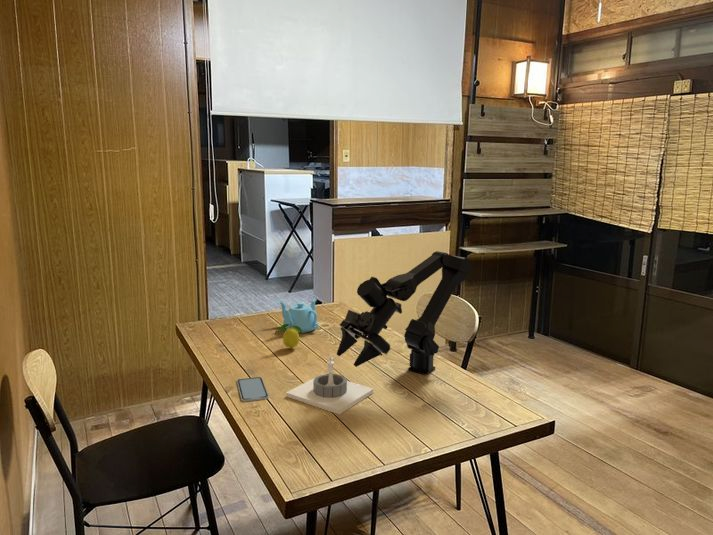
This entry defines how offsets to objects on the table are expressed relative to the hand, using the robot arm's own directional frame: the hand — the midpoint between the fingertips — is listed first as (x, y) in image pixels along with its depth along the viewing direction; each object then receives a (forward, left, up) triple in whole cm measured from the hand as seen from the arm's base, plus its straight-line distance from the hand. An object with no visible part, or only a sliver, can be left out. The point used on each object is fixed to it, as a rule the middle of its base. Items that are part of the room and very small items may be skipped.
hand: (346, 360), depth 148 cm
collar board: (+2, +5, -9) cm, 10 cm away
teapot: (+48, -35, -9) cm, 60 cm away
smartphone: (+22, +15, -10) cm, 28 cm away
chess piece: (+2, +4, -8) cm, 9 cm away
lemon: (+35, -16, -9) cm, 40 cm away
